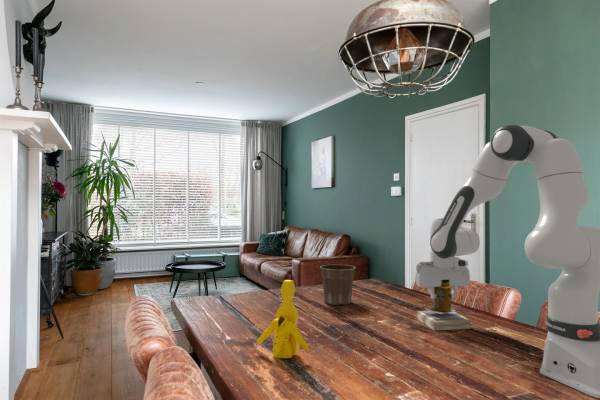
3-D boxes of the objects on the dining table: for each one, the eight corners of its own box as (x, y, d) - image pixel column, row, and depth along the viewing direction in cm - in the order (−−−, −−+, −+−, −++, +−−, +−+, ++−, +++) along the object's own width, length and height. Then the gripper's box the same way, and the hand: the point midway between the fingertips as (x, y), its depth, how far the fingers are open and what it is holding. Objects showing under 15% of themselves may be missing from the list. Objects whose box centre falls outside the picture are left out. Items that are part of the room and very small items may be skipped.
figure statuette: (252, 354, 120) (252, 281, 120) (266, 346, 127) (266, 276, 127) (306, 365, 112) (306, 286, 112) (317, 355, 119) (317, 281, 119)
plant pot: (328, 296, 193) (327, 263, 193) (360, 300, 186) (360, 265, 186) (314, 304, 178) (314, 268, 178) (348, 308, 171) (348, 270, 171)
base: (470, 328, 144) (470, 318, 144) (434, 330, 142) (434, 320, 142) (450, 317, 158) (450, 308, 158) (416, 318, 156) (416, 310, 156)
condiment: (456, 311, 149) (456, 278, 149) (441, 314, 144) (441, 281, 144) (439, 306, 155) (439, 275, 155) (425, 309, 150) (425, 278, 151)
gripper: (420, 263, 145) (420, 301, 145) (472, 261, 148) (472, 299, 148) (412, 260, 151) (413, 297, 151) (462, 259, 155) (462, 295, 155)
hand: (442, 298), depth 150 cm, fingers closed on condiment, 6 cm apart
